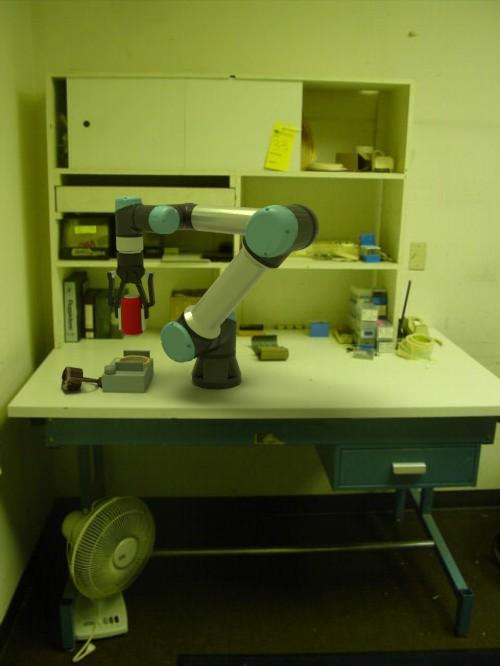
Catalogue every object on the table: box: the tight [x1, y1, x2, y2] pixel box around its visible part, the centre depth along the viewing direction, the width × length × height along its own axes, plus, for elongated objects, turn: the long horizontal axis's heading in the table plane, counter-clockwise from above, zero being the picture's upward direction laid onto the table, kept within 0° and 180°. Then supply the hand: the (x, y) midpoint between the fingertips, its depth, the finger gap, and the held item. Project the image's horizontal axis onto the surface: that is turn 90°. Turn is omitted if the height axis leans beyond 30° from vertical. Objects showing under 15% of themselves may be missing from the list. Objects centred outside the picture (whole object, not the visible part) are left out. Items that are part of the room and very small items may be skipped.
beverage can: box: [120, 293, 144, 338], centre depth 182 cm, size 6×6×12 cm
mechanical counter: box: [60, 365, 102, 391], centre depth 178 cm, size 7×13×10 cm
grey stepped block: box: [101, 349, 155, 394], centre depth 183 cm, size 12×17×8 cm
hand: (132, 328), depth 183 cm, fingers closed on beverage can, 6 cm apart
